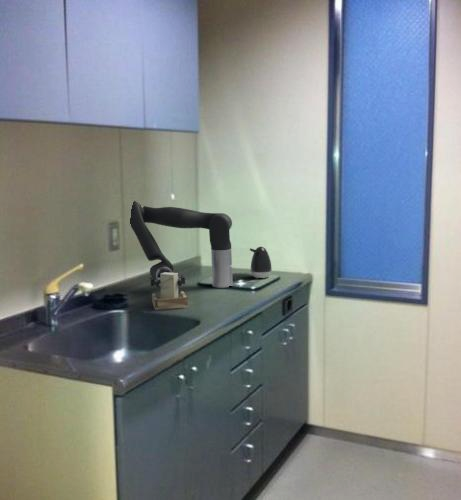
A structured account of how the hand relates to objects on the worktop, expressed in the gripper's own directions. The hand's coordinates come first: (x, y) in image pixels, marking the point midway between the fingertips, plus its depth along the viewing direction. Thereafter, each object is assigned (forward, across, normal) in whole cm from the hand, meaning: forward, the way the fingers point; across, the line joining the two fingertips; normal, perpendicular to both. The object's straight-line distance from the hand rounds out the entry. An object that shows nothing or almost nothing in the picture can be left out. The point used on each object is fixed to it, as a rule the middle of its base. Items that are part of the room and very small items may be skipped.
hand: (169, 284), depth 255 cm
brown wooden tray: (-2, 0, +9) cm, 9 cm away
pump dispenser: (-43, +49, +9) cm, 66 cm away
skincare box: (-2, 0, +8) cm, 8 cm away
